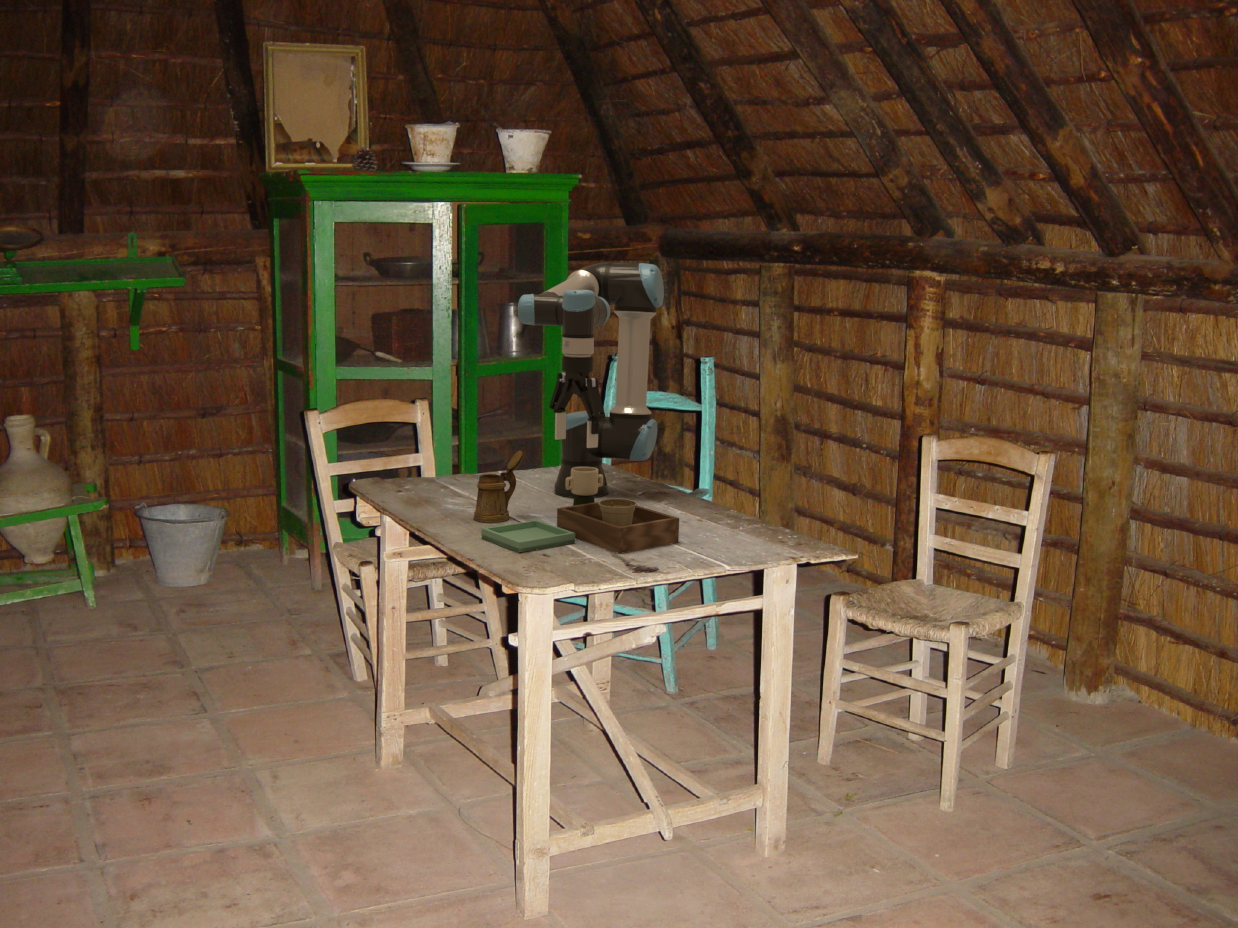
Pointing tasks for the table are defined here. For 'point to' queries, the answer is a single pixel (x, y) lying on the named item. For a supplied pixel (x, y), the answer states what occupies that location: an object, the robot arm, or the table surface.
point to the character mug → (584, 484)
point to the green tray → (528, 536)
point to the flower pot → (617, 511)
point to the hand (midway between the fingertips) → (576, 443)
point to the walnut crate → (619, 528)
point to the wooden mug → (496, 492)
